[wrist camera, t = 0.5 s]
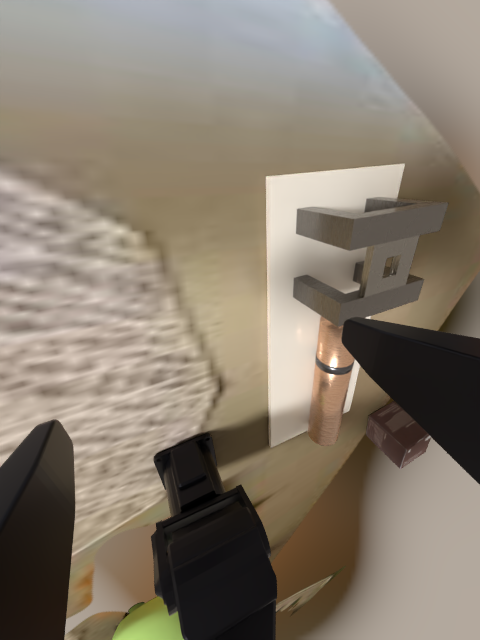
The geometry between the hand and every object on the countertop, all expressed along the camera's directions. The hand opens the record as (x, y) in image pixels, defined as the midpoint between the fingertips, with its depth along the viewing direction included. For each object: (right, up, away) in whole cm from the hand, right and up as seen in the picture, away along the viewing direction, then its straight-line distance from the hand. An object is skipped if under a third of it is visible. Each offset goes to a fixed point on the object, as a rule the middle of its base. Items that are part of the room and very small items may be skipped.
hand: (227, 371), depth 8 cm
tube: (+10, -5, +25) cm, 28 cm away
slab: (+10, 0, +22) cm, 24 cm away
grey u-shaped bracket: (+9, +9, +17) cm, 21 cm away
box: (+26, -16, +40) cm, 50 cm away
